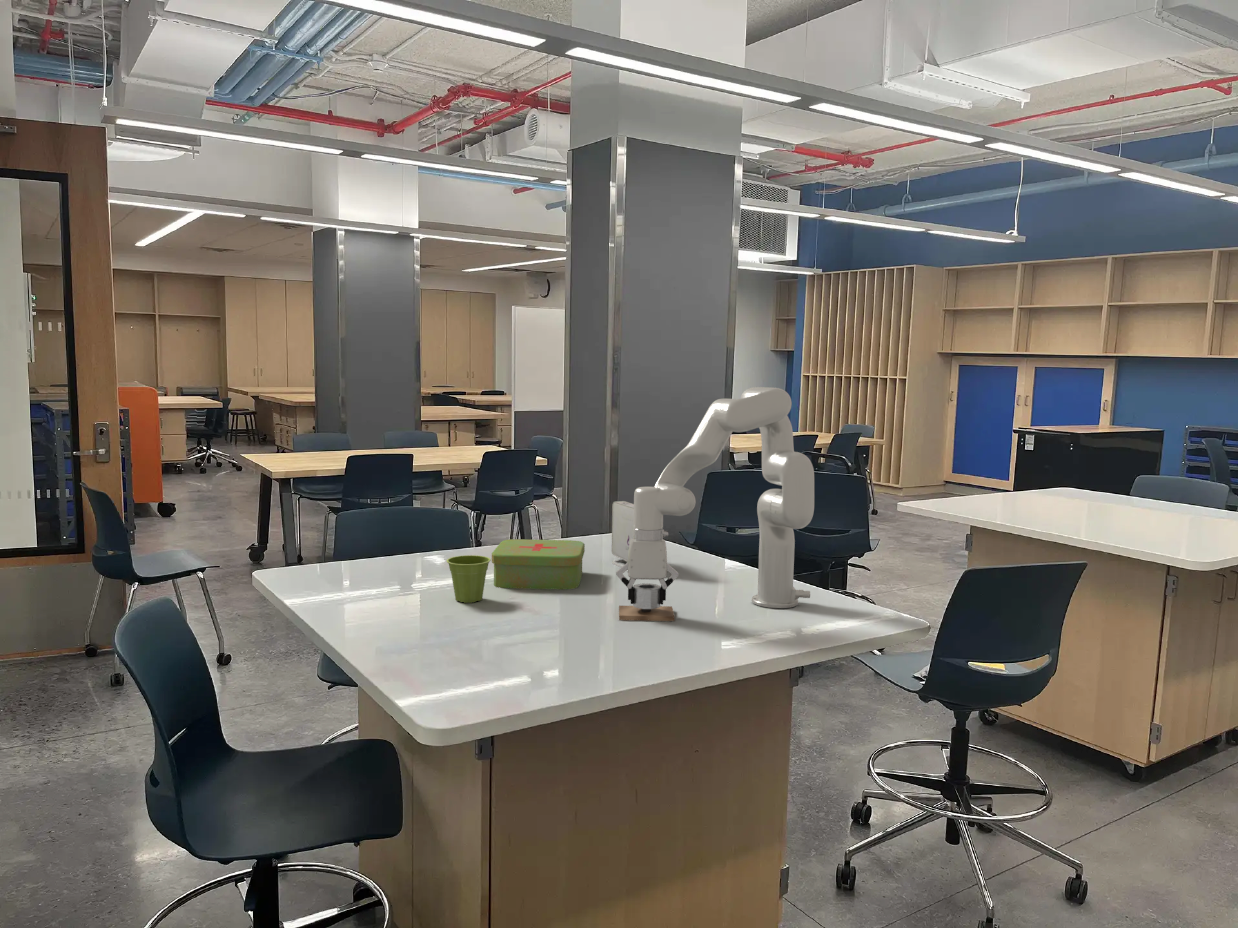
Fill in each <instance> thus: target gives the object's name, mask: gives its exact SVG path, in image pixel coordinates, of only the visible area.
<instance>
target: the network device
mask: <svg viewBox="0 0 1238 928" xmlns="http://www.w3.org/2000/svg"><path fill="white" fill-rule="evenodd" d="M611 506H612V508H611V511H612V513H611V514H612V515H611V554H612V556H613V557H616V558H619V559H613V560H612V562H611V563H612V564H613V565H615V566H617V567H619V568H622V567H623V566H624V565H625V564H627V563H628V551H629V544H630V540H631V539H633V531H634V503H631V502H628V501H625V500H622V501H619V500H618V501H613V502H612V505H611ZM621 563H625V564H621Z"/></svg>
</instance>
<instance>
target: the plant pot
mask: <svg viewBox="0 0 1238 928" xmlns="http://www.w3.org/2000/svg"><path fill="white" fill-rule="evenodd" d="M490 562H492V558H490V557H488V556H484V555H476V554H474V555H472V554H467V555H464V554H463V555H457V556H456V555H455V556H452V557H449V558H447V559H446V563H447V564H448V566H449V567H448V568H449V571H450V576H451V580H452V585H453V592H454V597H455V598H454V599H455V601H456V602H460V603H462V602H464V603H463V604H466V603H467V604H468V603H469V604H472V602H473V603H475V602H477V601H478V602H481V601H483V597H484V590H485V583H486V576H487V571H488V567H489V563H490Z"/></svg>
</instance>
